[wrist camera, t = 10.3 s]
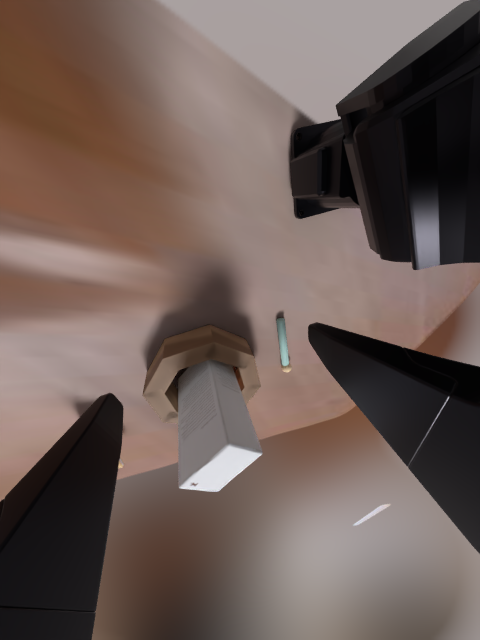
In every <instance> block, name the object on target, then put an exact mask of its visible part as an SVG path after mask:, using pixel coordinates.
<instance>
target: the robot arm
mask: <svg viewBox="0 0 480 640" xmlns="http://www.w3.org/2000/svg"><path fill="white" fill-rule="evenodd" d="M336 109H337V113H338V116H340V117H341V119H339V120H335V121H330V122H325V123H321V124H316V125H311V126H307V127H302V128H298V129H296V130H295V131H294V132H293V133H292V135H291V150H292V161H291V164H290V165H291V184H292V196H293V197H294V211H295V217H296V218H298V219H302V218H306V217H310V216H313V215H317V214H321V213H324V212H328V211H332V210H335V209H339V208H360V210H361V214H362V218H363V222H364V226H365V230H366V234H367V238H368V242H369V246H370V248H371V249H372V250H373V251H375V252H376V253H377V254H380V258H381V259H384V260H388V261H393V262H412V268H413V269H414V270H419V269H424V268H428V267H433V266H437V265H445V264H454V263H480V0H469V1H465V2H463V3H461V4H460V5H458V6H457V7H456V8H454V9H453V10H452V11H451V12H449V13H448V14H446V15H445V16H444V17H442V18H441V19H440V20H439V21H437V22H436V23H434V24H433V25H432V26H431V27H429V28H428V29H427V30H425V31H424V32H422V33H421V34H420V35H418V36H417V37H416V38H415V39H413V40H412V41H410V42H409V43H408V44H407V45H405V46H404V47H403V48H402V49H401V50H400V51H399V52H397V53H396V54H395V55H394V56H393V57H391V58H390V59H389V60H388V61H387V62H386V63H384V64H383V65H382V66H381V67H380V68H379V69H377V70H376V71H375V72H374V73H373V74H372V75H370V76H369V77H368V78H367V79H366V80H365V81H363V82H362V83H361V84H360V85H359V86H358V87H356V88H355V89H354V90H353V91H352V92H351V93H349V94H348V95H347V96H346V97H345V98H344V99H342V100H341V101H340V102H339V103H338V104H337V105H336ZM297 134H298V135H299V141H298V140H297V139H296V135H297ZM300 210H301V211H302V214H301V215H299V212H300ZM308 338H309V342H310V344H311V346H312V347H313V349H314V350H315V352H316V353H317V355H318V356H319V358H320V359H321V361H322V362H323V364H324V365H325V367H326V368H327V370H328V371H329V372H330V373H331V375H332V376H333V377H334V378H335V379H336V381H337V382H338V383H339V384H340V386H341V387H342V388H343V389H344V390H345V392H346V393H347V394H348V395H349V396H350V398H351V399H352V400H353V401H354V403H355V404H356V405H357V406H358V407H359V408H360V410H361V411H362V412H363V413H364V415H365V416H366V417H367V418H368V419H369V421H370V422H371V423H372V424H373V426H374V427H375V428H376V429H377V430H378V431H379V433H380V434H381V435H382V436H383V438H384V439H385V440H386V441H387V443H388V444H389V445H390V446H391V447H392V449H393V450H394V451H395V452H396V453H397V455H398V456H399V457H400V458H401V459H402V461H403V462H404V463H405V464H406V466H408V468H409V469H410V471H411V472H412V473H413V474H414V475H415V477H416V478H417V479H418V480H419V482H420V483H421V484H422V485H423V486H424V488H425V489H426V490H427V491H428V492H429V493H430V495H431V496H432V497H433V499H434V500H435V501H436V502H437V503H438V505H439V506H440V507H441V508H442V509H443V511H444V512H445V513H446V514H447V515H448V517H449V518H450V519H451V520H452V522H453V523H454V524H455V525H456V526H457V527H458V529H459V530H460V531H461V532H462V534H463V535H464V536H465V537H466V539H467V540H468V541H469V542H470V543H471V545H472V546H473V547H474V548H475V549H476V550H477V551H478V552H479V553H480V367H479V366H474V365H470V364H466V363H462V362H457V361H453V360H449V359H445V358H441V357H437V356H432V355H429V354H426V353H422V352H418V351H415V350H411V349H408V348H402V347H401V346H397V345H394V344H390V343H387V342H384V341H380V340H377V339H373V338H370V337H366V336H363V335H359V334H356V333H353V332H349V331H346V330H342V329H339V328H335V327H332V326H328V325H325V324H322V323H318V322H316V323H313V324H310V325H309V326H308ZM122 429H123V405H122V404H121V402H120V401H119V400H118V399H117V398H116V397H115V396H114V395H113V394H112V393H108V394H105V395H102V396H100V397H99V398H98V399H97V400H96V401H95V402H94V403H93V404H92V405H91V406H90V407H89V408H88V409H87V410H86V412H85V413H84V414H83V415H82V416H81V417H80V418H79V419H78V420H77V421H76V422H75V423H74V424H73V425H72V426H71V427H70V429H69V430H68V431H67V432H66V433H65V434H64V435H63V436H62V437H61V438H60V439H59V440H58V441H57V442H56V443H55V444H54V445H53V447H52V448H51V449H50V450H49V451H48V452H47V453H46V454H45V455H44V456H43V457H42V458H41V459H40V460H39V461H38V462H37V463H36V465H35V466H34V467H33V468H32V469H31V470H30V471H29V472H28V473H27V474H26V475H25V476H24V477H23V478H22V479H21V480H20V481H19V483H18V484H17V485H16V486H15V487H14V488H13V489H12V490H11V491H10V492H9V493H8V494H7V495H6V496H5V499H3V500H1V502H0V640H91V639H92V633H93V627H94V620H95V611H96V606H97V599H98V593H99V587H100V581H101V575H102V568H103V562H104V555H105V549H106V542H107V536H108V530H109V523H110V517H111V510H112V504H113V498H114V492H115V485H116V479H117V472H118V466H119V460H120V453H121V446H122Z"/></svg>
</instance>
